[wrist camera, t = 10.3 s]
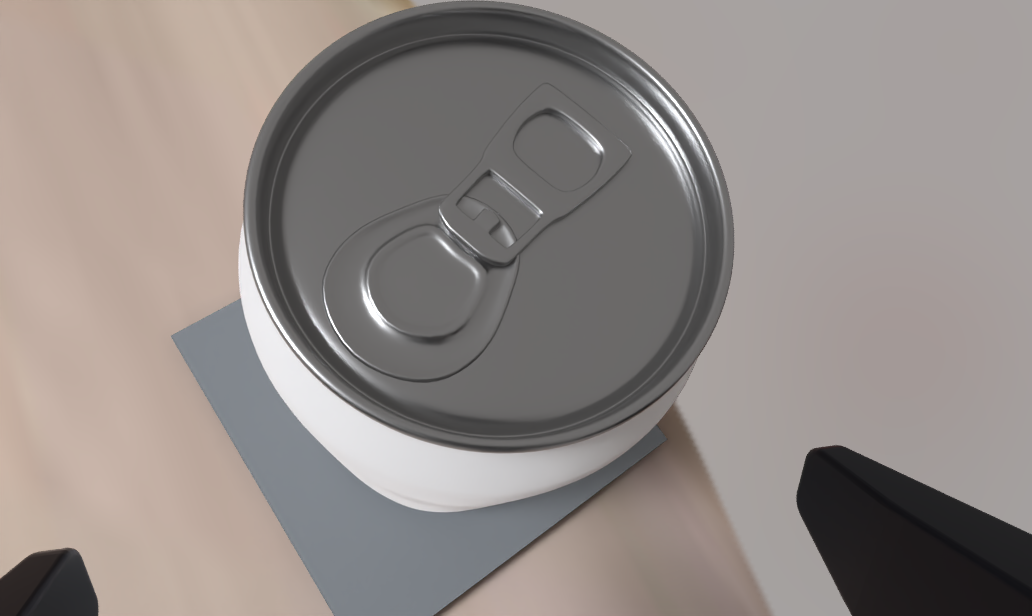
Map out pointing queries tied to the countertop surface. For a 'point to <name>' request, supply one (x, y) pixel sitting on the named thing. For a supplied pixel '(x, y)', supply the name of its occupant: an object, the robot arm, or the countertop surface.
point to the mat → (363, 494)
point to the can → (481, 251)
